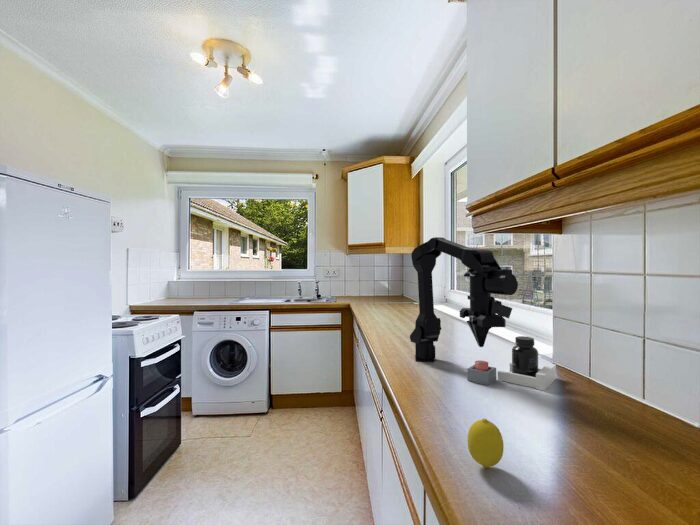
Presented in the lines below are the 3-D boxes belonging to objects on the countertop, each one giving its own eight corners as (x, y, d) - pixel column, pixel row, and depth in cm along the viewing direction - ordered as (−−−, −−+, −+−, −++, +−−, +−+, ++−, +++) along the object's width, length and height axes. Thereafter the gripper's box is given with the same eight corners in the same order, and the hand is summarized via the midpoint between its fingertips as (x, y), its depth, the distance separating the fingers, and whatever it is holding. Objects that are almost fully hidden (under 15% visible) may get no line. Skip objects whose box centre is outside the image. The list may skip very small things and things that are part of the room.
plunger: (473, 374, 98) (472, 362, 98) (478, 371, 101) (478, 359, 101) (485, 377, 96) (485, 364, 96) (490, 374, 99) (490, 362, 99)
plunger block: (467, 380, 98) (467, 368, 98) (475, 375, 103) (475, 363, 103) (488, 385, 94) (488, 372, 94) (496, 379, 99) (496, 367, 99)
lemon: (494, 457, 59) (493, 411, 59) (510, 477, 54) (509, 426, 54) (462, 458, 59) (462, 412, 59) (475, 478, 53) (474, 427, 53)
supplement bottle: (506, 377, 101) (506, 336, 101) (522, 374, 103) (522, 334, 104) (527, 384, 94) (526, 341, 94) (544, 381, 97) (543, 338, 97)
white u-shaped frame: (496, 380, 98) (496, 366, 98) (511, 370, 107) (511, 357, 108) (544, 390, 90) (544, 375, 90) (556, 378, 99) (555, 364, 99)
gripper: (524, 295, 90) (525, 354, 89) (493, 290, 108) (494, 339, 108) (482, 295, 89) (483, 355, 89) (458, 290, 108) (459, 339, 108)
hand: (481, 346), depth 99 cm, fingers closed
